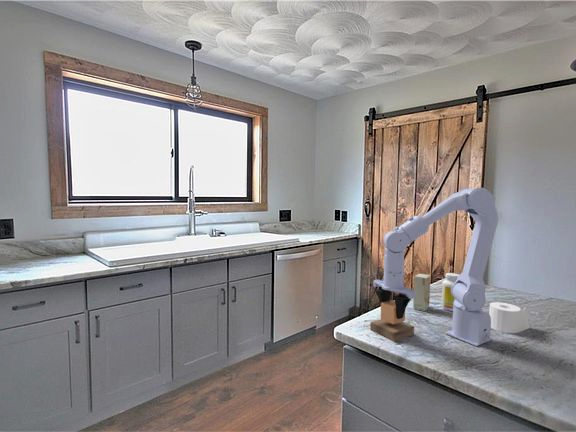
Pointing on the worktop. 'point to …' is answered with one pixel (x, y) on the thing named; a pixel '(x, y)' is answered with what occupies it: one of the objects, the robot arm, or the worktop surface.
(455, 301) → the robot arm
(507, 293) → the worktop surface
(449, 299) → the supplement bottle
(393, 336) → the walnut block
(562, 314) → the worktop surface
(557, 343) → the worktop surface
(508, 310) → the toilet paper
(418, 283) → the skincare box
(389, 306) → the orange cube
